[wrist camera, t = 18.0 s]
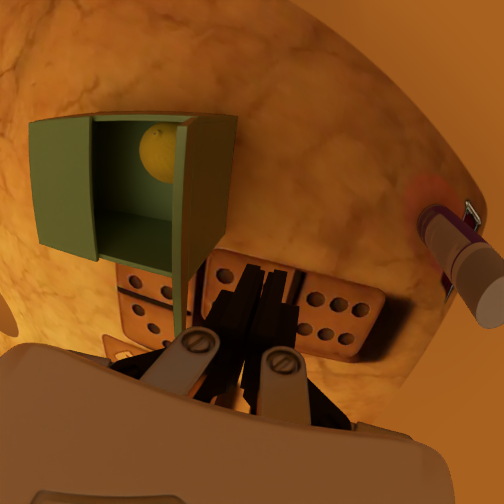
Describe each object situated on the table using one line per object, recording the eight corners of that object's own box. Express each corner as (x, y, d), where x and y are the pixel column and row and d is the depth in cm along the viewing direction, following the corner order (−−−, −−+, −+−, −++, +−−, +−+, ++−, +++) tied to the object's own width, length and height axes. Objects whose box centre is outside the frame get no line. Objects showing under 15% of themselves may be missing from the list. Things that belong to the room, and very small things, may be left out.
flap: (191, 117, 17) (197, 117, 17) (183, 285, 23) (188, 286, 23) (176, 125, 10) (187, 125, 10) (177, 372, 15) (184, 373, 16)
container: (460, 219, 26) (533, 292, 13) (436, 251, 28) (493, 338, 15) (433, 195, 26) (507, 260, 13) (408, 229, 28) (462, 314, 15)
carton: (237, 116, 27) (193, 116, 17) (225, 233, 33) (184, 287, 23) (97, 112, 29) (28, 122, 19) (98, 209, 35) (39, 244, 25)
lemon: (190, 203, 29) (158, 176, 21) (151, 178, 30) (113, 148, 22) (221, 158, 29) (200, 118, 21) (181, 137, 30) (152, 98, 22)
